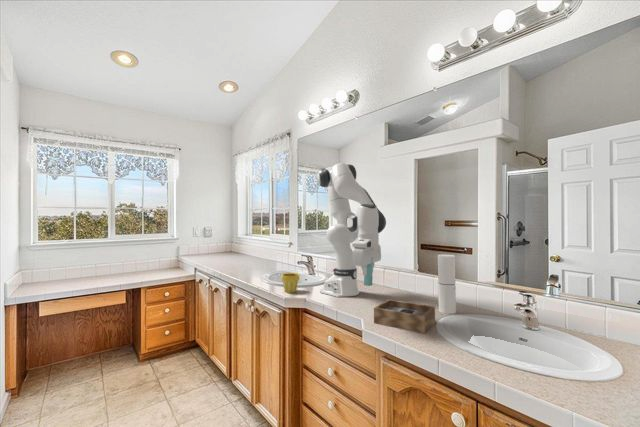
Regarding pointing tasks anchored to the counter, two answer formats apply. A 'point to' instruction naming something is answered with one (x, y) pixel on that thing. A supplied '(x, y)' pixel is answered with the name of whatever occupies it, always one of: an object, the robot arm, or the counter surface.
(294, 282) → the plant pot
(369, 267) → the peg
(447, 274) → the cylindrical container
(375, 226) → the robot arm
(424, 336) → the counter surface
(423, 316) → the box
